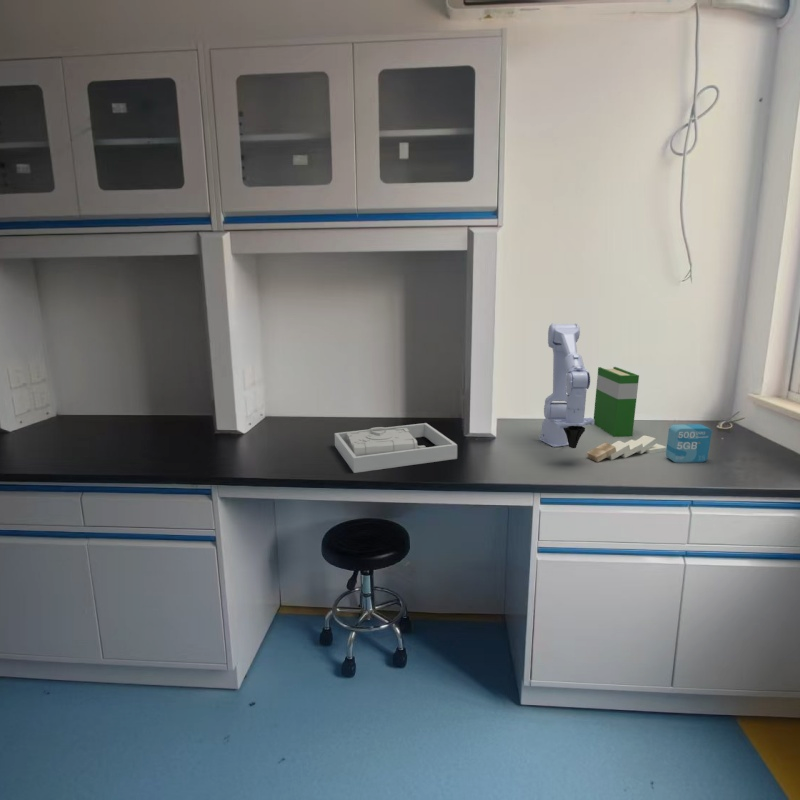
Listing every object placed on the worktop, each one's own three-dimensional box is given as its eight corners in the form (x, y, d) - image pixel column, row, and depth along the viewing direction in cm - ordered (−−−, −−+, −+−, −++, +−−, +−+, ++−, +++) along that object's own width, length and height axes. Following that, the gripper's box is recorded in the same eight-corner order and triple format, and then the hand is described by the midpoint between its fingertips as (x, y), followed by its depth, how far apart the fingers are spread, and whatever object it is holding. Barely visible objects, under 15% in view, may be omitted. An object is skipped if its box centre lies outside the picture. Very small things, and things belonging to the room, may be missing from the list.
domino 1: (586, 452, 175) (605, 442, 177) (587, 457, 176) (606, 447, 177) (596, 457, 170) (615, 446, 172) (597, 462, 171) (616, 451, 173)
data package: (671, 462, 170) (676, 428, 167) (664, 458, 175) (669, 424, 172) (707, 462, 171) (712, 428, 168) (699, 457, 175) (704, 424, 172)
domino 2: (600, 450, 177) (618, 440, 179) (601, 455, 177) (619, 445, 179) (610, 455, 172) (629, 444, 174) (612, 460, 173) (630, 449, 175)
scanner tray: (335, 446, 188) (334, 433, 187) (426, 435, 200) (426, 423, 199) (354, 472, 163) (353, 458, 162) (457, 458, 175) (457, 444, 174)
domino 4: (628, 445, 181) (643, 435, 184) (629, 450, 182) (644, 439, 185) (640, 449, 177) (655, 438, 180) (641, 453, 178) (656, 443, 181)
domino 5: (639, 445, 183) (656, 443, 185) (638, 451, 183) (655, 448, 186) (649, 450, 178) (667, 447, 181) (649, 455, 179) (666, 452, 182)
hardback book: (593, 423, 214) (598, 367, 208) (610, 423, 215) (615, 366, 209) (613, 436, 197) (620, 375, 191) (632, 436, 198) (639, 375, 192)
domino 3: (614, 448, 179) (631, 439, 181) (614, 453, 179) (632, 444, 181) (624, 452, 174) (642, 443, 176) (625, 457, 175) (643, 448, 177)
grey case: (432, 458, 176) (433, 437, 175) (352, 465, 171) (351, 443, 169) (418, 441, 195) (418, 422, 193) (345, 447, 189) (344, 427, 187)
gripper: (564, 413, 160) (561, 453, 163) (602, 408, 164) (598, 448, 168) (551, 407, 166) (548, 447, 169) (587, 403, 171) (584, 441, 174)
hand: (572, 447), depth 169 cm, fingers closed
